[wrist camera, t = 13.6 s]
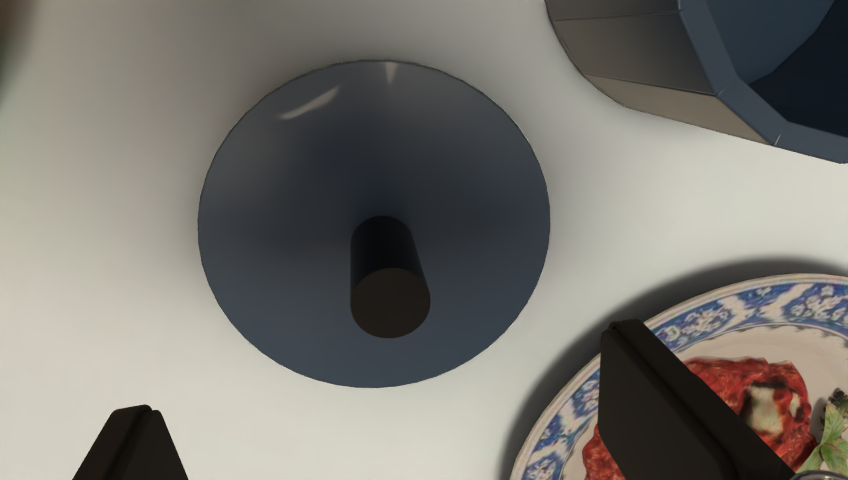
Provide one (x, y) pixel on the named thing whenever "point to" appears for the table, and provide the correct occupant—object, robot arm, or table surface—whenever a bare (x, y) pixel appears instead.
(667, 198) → the table surface
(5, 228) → the table surface
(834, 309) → the ceramic plate
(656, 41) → the pot
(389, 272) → the pot lid
